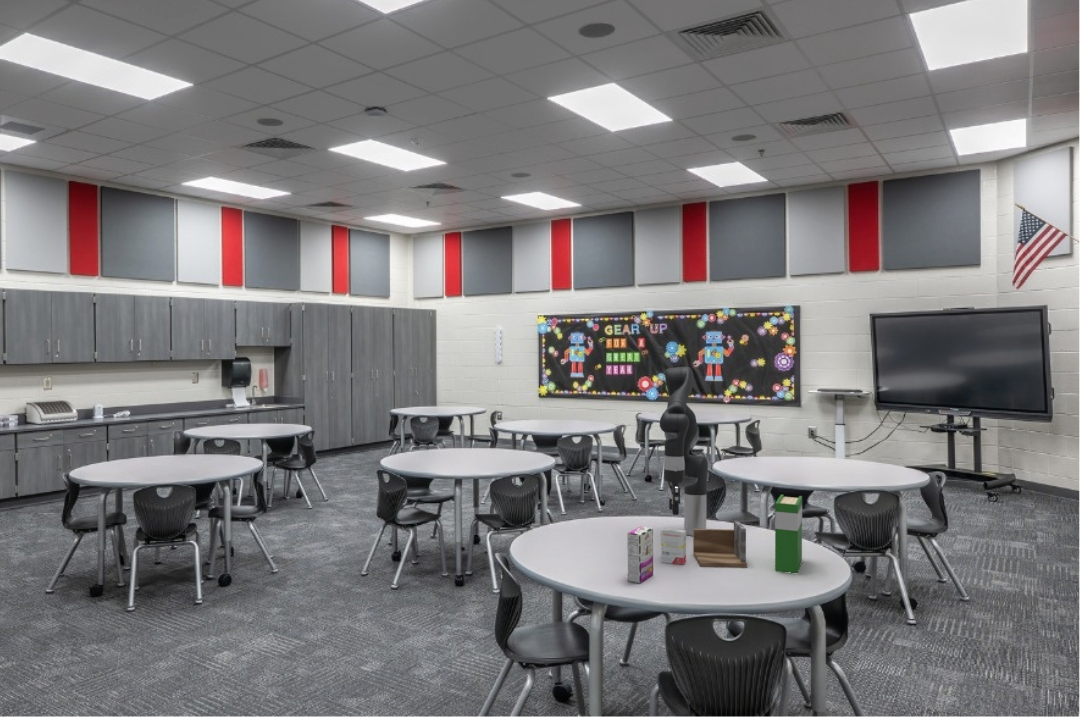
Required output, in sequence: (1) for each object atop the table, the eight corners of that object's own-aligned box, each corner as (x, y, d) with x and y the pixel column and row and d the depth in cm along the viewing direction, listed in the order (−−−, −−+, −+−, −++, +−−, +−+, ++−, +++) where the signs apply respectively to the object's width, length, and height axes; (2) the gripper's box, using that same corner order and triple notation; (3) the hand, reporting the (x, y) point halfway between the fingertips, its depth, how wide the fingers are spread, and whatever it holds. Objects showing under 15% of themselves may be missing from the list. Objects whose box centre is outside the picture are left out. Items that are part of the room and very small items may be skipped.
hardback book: (780, 558, 258) (781, 494, 258) (801, 560, 255) (802, 496, 255) (775, 571, 242) (775, 503, 242) (797, 574, 239) (797, 505, 239)
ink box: (686, 561, 253) (686, 529, 253) (683, 565, 249) (683, 532, 249) (663, 558, 257) (664, 527, 257) (660, 562, 252) (660, 530, 252)
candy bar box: (640, 572, 239) (640, 525, 240) (653, 575, 237) (653, 527, 237) (626, 581, 230) (626, 532, 230) (640, 584, 227) (640, 534, 227)
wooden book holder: (693, 555, 262) (693, 519, 262) (737, 555, 261) (737, 520, 261) (700, 566, 247) (700, 529, 247) (747, 567, 246) (747, 530, 246)
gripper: (661, 465, 260) (661, 507, 260) (666, 470, 246) (666, 516, 246) (681, 465, 260) (681, 508, 260) (687, 471, 245) (687, 516, 245)
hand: (673, 512), depth 253 cm, fingers open, 8 cm apart
